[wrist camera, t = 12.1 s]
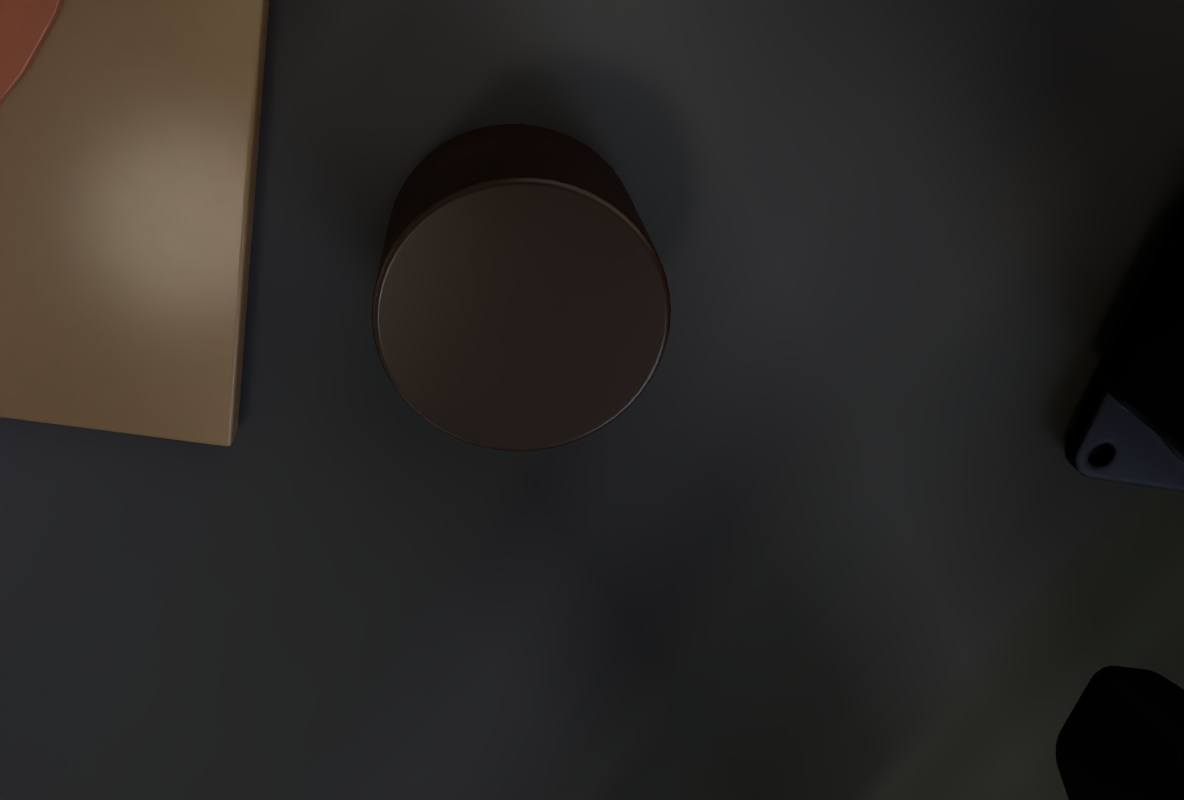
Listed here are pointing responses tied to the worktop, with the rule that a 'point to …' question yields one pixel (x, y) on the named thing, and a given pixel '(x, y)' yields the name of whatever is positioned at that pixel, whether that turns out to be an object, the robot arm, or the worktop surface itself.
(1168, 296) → the robot arm
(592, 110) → the worktop surface
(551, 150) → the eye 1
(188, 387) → the face board
